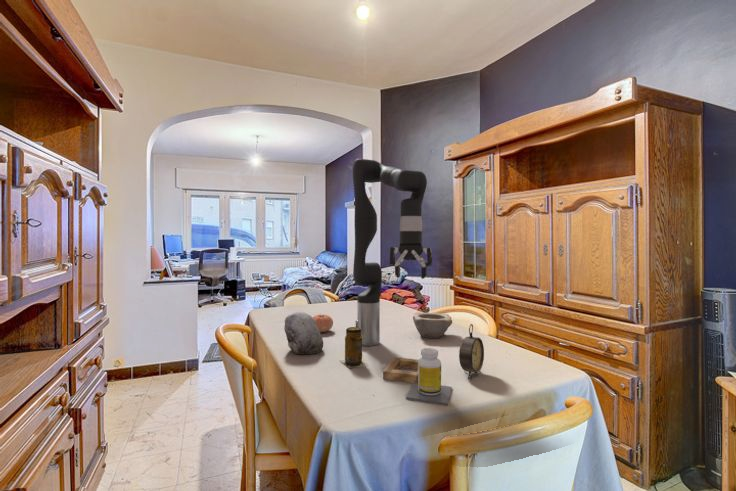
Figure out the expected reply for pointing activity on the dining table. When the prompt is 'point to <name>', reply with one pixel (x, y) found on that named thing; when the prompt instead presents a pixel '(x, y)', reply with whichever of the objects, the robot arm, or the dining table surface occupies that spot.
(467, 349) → the alarm clock
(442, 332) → the mortar
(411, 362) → the wooden square frame
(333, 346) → the dining table surface
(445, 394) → the slate coaster
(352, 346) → the condiment
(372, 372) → the dining table surface
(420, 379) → the pill bottle
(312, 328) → the stone
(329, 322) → the tomato
